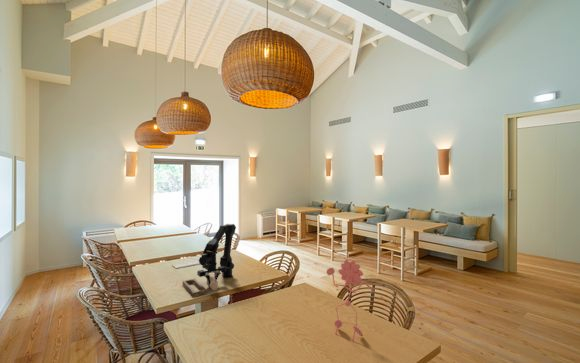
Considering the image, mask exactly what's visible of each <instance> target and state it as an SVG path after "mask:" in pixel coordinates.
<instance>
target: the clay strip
mask: <svg viewBox="0 0 580 363" xmlns="http://www.w3.org/2000/svg"><path fill="white" fill-rule="evenodd" d="M209 275H210V284H208V281H207V280H206V283H207V284H208V286H209V288H210V289H211V291H217V290H218V288H219V286H218V285H219V284H218V281H217V280H218V279H217V280H216V279H215V278H214V275H213V273H209Z"/></svg>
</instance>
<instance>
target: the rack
mask: <svg viewBox="0 0 580 363" xmlns="http://www.w3.org/2000/svg"><path fill="white" fill-rule="evenodd" d="M190 284H194V286H195V287H197V289H199V290H196V291H195V289H193V288H192V287H191V286H190ZM182 286H183V287H184V289H186V290H187V291H188V293H189V294H190V295H191V297H199V296H201V295H206V294H208V291H207V288H205V287H204V285H202V283H200V282H199V281H198V280H197V279H196V278H190V279H187V280H182Z"/></svg>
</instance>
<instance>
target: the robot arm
mask: <svg viewBox="0 0 580 363" xmlns="http://www.w3.org/2000/svg"><path fill="white" fill-rule="evenodd" d="M236 229H237V226H236V225H235V224H234V223H225V224H221V225H220V226H219V228H218V229H217V231H216V233H215V234H214V236H213V237H212V239H210V240H209V241H208V242H207V243H206V244H205V247H204V249H203V252H202V254H201V256H200V258H199V259H198V260H199V263H200V264H199V265H201V266H202V269H201V270H197V271H196V272H197V274H196V275H197V276H198V277H200V278H201V277H205V278H206V282H207V281H208V283H207V284H208V285H209V284H210V275H209V274H213V273H214V275H213V276H214V278H215V279H216V280H218V278H219V276H220V275H221V276H222V277H223V278H225V279H229V278H232V277H234V275H233V270H234V268H235V264H234V263H233V258H232V256H231V253H232V252H231V251H232V250H231V249H232V242H233V236H234V234H235V232H236ZM224 235H225V237H224V239H225V240H224V248H223V255H222V256H220V258H219V265H220V266H218V267H217V264H218V263H217V254H218V248H219V246H220V245H219V244H220V242H221V240H222V238H223V236H224ZM204 269H205V270H204Z"/></svg>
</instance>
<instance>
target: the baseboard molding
mask: <svg viewBox="0 0 580 363" xmlns="http://www.w3.org/2000/svg"><path fill="white" fill-rule="evenodd" d="M192 265H193V266H197V265H201V264H200V263H199V259H198V260H193V261H188V262H183V263H176V264H172V267H173V268H174V269H175V268H176V270H177V268H178V269H181V268H182V267H183V268H187V266H188V267H191V266H192Z"/></svg>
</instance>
